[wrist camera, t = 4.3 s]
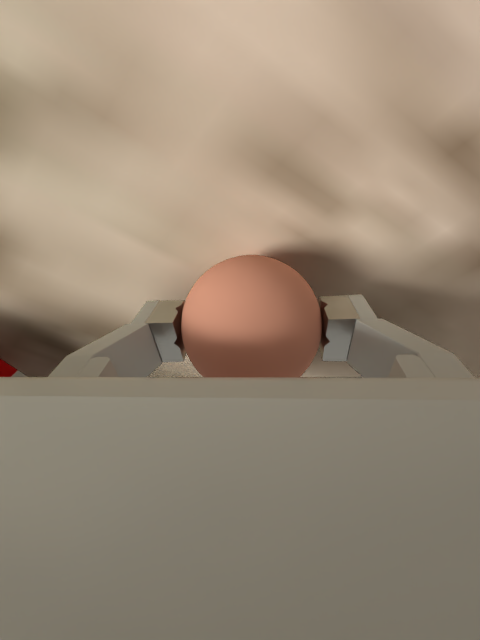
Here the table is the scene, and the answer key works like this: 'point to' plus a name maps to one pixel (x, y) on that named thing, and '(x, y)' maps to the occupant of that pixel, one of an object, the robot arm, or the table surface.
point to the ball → (251, 320)
